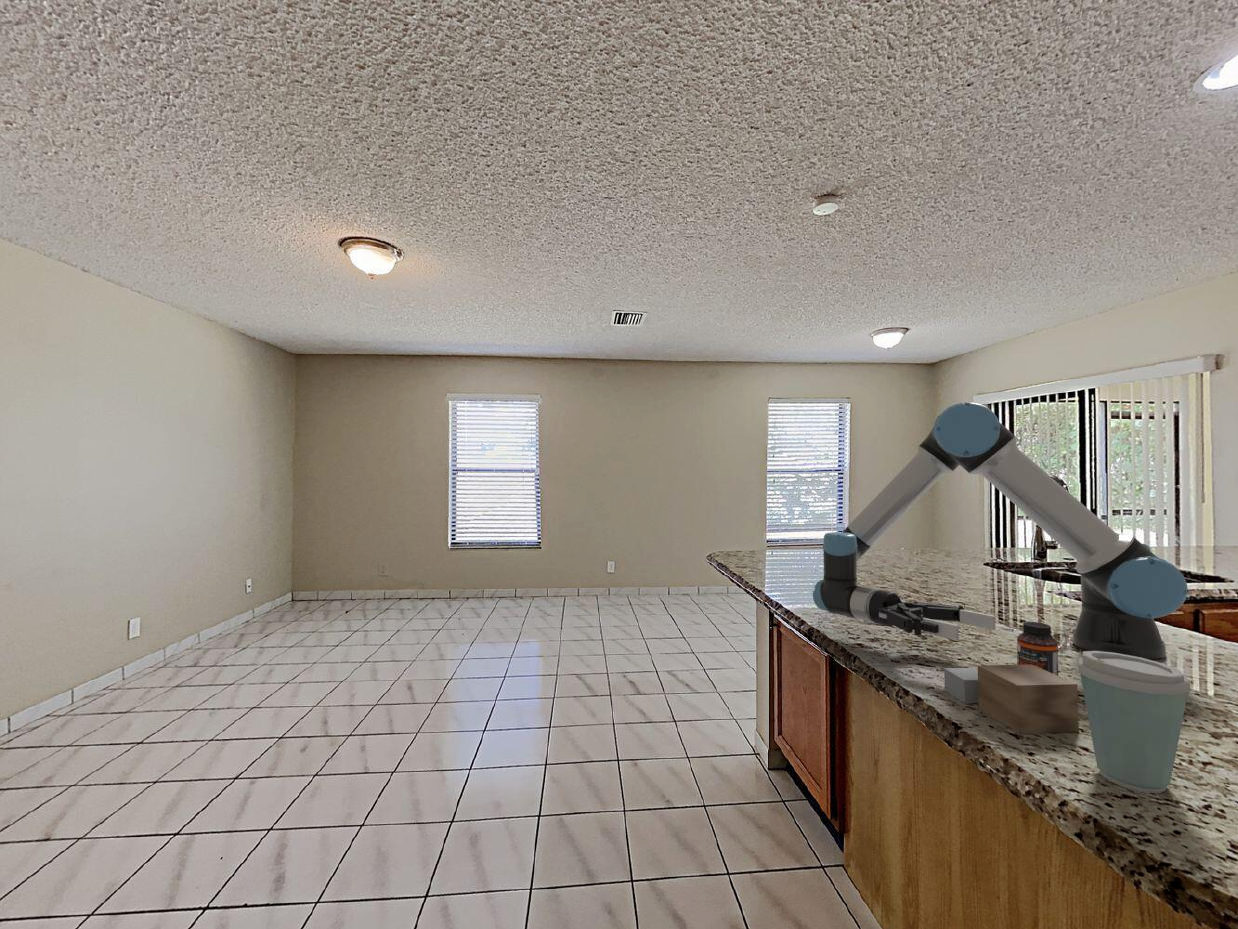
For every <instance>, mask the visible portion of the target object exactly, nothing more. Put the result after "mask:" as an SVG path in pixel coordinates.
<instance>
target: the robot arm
mask: <svg viewBox="0 0 1238 929" xmlns="http://www.w3.org/2000/svg"><path fill="white" fill-rule="evenodd" d="M959 466H960V467H961V468H962V469H964V470H965V471H966V472H967V473H968V474H969V475H980V476H982V477H984V478H985V479H986V480H987V481H988V483H990V484H992V486H994V487H995V488H996V489H997V490H998V491H999V492H1000V493H1002V495H1003V496H1005V497H1006V498H1007V499H1008V500H1009V501H1010V502H1012V503H1013V504H1014V505H1015V506H1016V507H1017V508H1018V509H1019V510H1020V511H1021V512H1022V513H1023V514H1025V515H1026V516H1027V517H1028V518H1029V519H1030V520H1031V521H1032V522H1034V524H1035V525H1036V526H1038V527H1039V529H1040V528H1041V529H1042V531H1044V533H1046V534H1047V535H1048V536H1049V537H1050V538H1052V539H1053V541H1055V542H1056V543H1057V544H1058V545H1059V546H1060V547H1061V548H1063V549H1064V550H1065V551H1066V552H1067V553H1068V554H1069V555H1071V556H1072V558H1074V559H1075V560H1076V572H1077V573H1078V574H1079V575H1080V586H1081V587H1080V592H1081V593H1080V594H1081V612H1080V615H1079V616H1078V620H1077V624H1076V627H1075V629H1074V630H1073V632H1072V644H1074V645H1075V646H1076V647H1078V648H1080V649H1083V650H1084V651H1085V650H1086V651H1102V652H1112V653H1119V654H1124V655H1130V656H1136V657H1141V658H1145V659H1148V660H1159V659H1163V658H1165V657H1166V656H1167V654H1166V653H1167V652H1166V643H1165V641H1163V640H1162V636H1161V633H1160V631H1159V628H1158V626H1157V623H1156V621H1155V619H1157V618H1158V619H1159V618H1163V617H1166V616H1168V615H1171V614H1173V613H1174V612H1176V611H1178V610H1179V609H1180V608H1181V606H1183V604H1184V603H1185V601H1186V599H1187V596H1188V588H1189V587H1188V584H1187V580H1186V578H1185V577H1184V574H1182V572H1181V571H1180V570H1179V569H1178V568H1177V567H1176V566H1175V565H1174V564H1172V563H1171V562H1169V561H1167V560H1165V559H1163V558H1160V557H1158V556H1157V555H1156V554H1155V553H1154V552H1152V551H1151V547H1150V546H1149V545H1147V544H1145V543H1141V541H1139V540H1138V539H1137V538H1136V537H1134V536H1133V535H1132V534H1124V533H1117V532H1116V531H1115V530H1113V529H1112V528H1111V527H1110V526H1109V525H1107V524H1106V523H1105V522H1104V521H1103V520H1101V519H1100V518H1099V517H1098V516H1097V515H1096V514H1095V513H1093V512H1092V511H1091V510H1090V509H1089V508H1088V507H1086V506H1085V505H1084V504H1083V503H1082V502H1081V501H1079V500H1078V499H1077V498H1076V497H1075V495H1073V494H1072V493H1070V491H1068V490H1067V489H1066V488H1064V487H1063V486H1062V485H1061V484H1060V483H1059V482H1058V481H1056V480H1055V479H1054V478H1053V477H1052V476H1051V475H1049V473H1047V472H1046V471H1044V469H1042V468H1041V467H1040V466H1039V465H1038V464H1037V463H1035V462H1034V461H1033V460H1032V459H1031V458H1029V457H1028V456H1027V455H1026V454H1025V453H1024V452H1023V451H1021V450H1020V449H1019V448H1018V446H1017V436H1016V435H1015V434H1014V433H1012V432H1011V430H1009V429H1008V428H1007V427H1006V426H1004V424H1002V423H1001V422H1000V420H999V419H998V416H997V415H996V414H995V412H994V411H993V410H992V409H990V408H989V407H987V406H985V405H983V404H980V403H976V402H959V403H956V404H952V405H951V406H947V408H946V409H944V410H943V411H942V412H941V413H940V414H939V415H938V416H937V418H936V419H935V422H934V424H933V427H932V429H931V430H930V432H929V434H928V435H927V436H926V438H925V439H924V440H923V441H922V442H921V443H920V444H919V445H918V446H917V453H916V454H915V456H914V457H913V458H911V460H910V461H909V462H908V463H907V464H906V465H905V466H903V468H902V469H901V470H900V471H899V472H898V474H896V476H894V477H893V478H892V479H891V481H890V482H889V483H887V485H886V486H884V488H883V489H882V490H881V491H880V492H879V493H878V494H877V495H875V497H874V498H873V499H872V500H871V501H870V503H868V505H866V506H865V508H864V509H863V510H862V511H861V512H860V513H859V514H858V515H857V516H856V517H855V518H854V519H853V520H852V521H851V522H849V524H848V525H847V526H846V527H845V528H844V529H843V531H841V532H840V531H837V532H835V531H834V532H833V531H832V532H826V533H825V534H824V535H823V545H822V549H823V550H822V551H823V552H822V553H823V579H821V580H819V581H817V582H816V584H815V585H814V590H813V591H812V599H813V602H814V604H815V606H816V607H817V608H818V609H819V610H822V611H826V612H827V613H830V614H832V615H840V616H843V617H848V618H853V619H858V620H861V621H863V623H865V624H868V623H869V622H870V623H874V624H877V625H880V626H885V627H890V628H891V627H895V628H897V629H900V630H901V631H904V632H906V633H909V634H911V633H913V631H914V636H918V637H919V636H922V633H924V634H929V635H933V636H938V637H941V638H942V637H943V638H946V639H951V640H953V641H959V640H960V633H959V632H960V625H958V624H954V623H951V621H952V622H959V624H964V625H969V626H973V627H978V628H981V629H985V630H993V631H995V630H996V615H992V614H987V613H982V612H976V611H971V610H967V609H965V607H964V606H963V605H961V604H959V605H958V606H953V605H944V604H942V605H941V604H933V603H927V602H926V603H925V602H918V601H913V602H912V601H904V603H903V601H902V600H901V598H900V596H899V595H898V594H897V593H896V592H892V591H888V590H883V589H878V588H873V587H867V586H862V585H858V582H857V581H858V561H859V560H860V559H861V558H862V557H863V556H864V555H865V554H866V553H867V551H869V549H871V547H872V546H873V545H875V544H876V542H877V541H879V539H881V537H882V536H883V535H884V534H885V533H886V532H887V531H888V530H890V528H892V527H893V526H894V524H895V523H896V522H897V521H898V520H900V518H902V517H903V516H904V514H906V512H907V511H909V510H910V508H911V507H912V506H913V505H914V504H916V502H917V501H918V500H919V499H920V498H921V497H923V496H924V495H925V493H926V492H927V491H928V490H929V489H930V488H932V487H933V485H934V484H935V483H937V482H938V481H939V480H940V478H942V476H944V475H945V474H949V473H953V472H954V471H955V470H956V469H957V468H958V467H959ZM945 621H950V622H945Z"/></svg>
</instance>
